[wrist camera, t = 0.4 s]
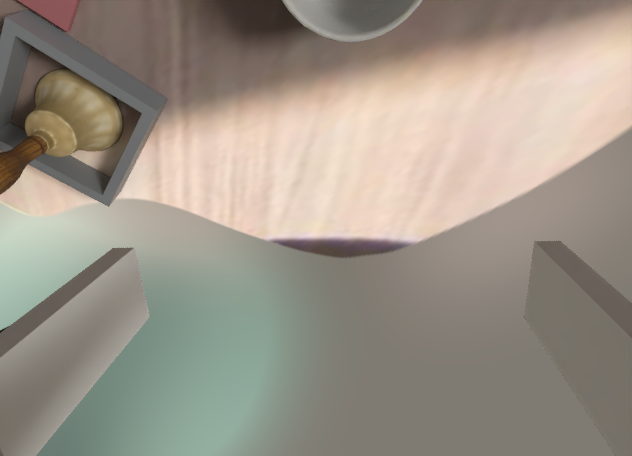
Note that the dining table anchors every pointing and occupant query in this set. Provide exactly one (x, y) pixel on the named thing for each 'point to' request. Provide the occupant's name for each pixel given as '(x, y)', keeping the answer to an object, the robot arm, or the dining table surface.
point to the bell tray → (30, 30)
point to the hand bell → (63, 123)
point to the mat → (55, 11)
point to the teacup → (351, 17)
